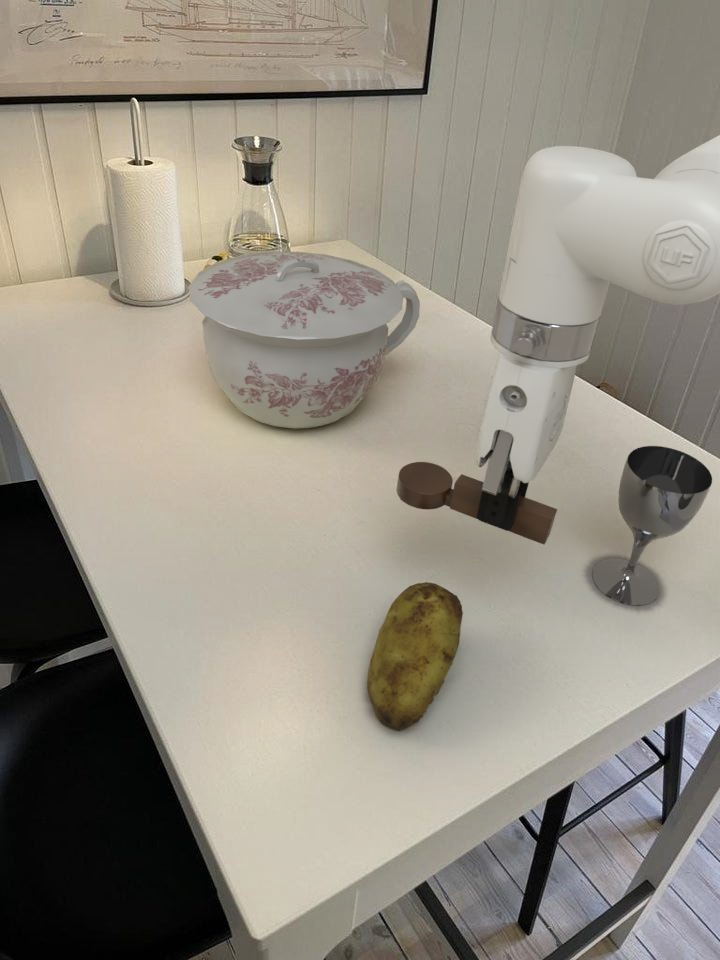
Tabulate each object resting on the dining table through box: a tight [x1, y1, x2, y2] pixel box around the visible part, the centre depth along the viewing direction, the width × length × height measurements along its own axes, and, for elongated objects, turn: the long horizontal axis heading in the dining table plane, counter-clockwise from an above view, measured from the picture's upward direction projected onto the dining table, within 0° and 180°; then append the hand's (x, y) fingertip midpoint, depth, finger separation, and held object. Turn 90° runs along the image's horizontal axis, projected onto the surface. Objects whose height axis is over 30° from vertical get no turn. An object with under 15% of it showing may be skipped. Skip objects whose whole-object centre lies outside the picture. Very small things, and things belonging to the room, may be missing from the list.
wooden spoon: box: [396, 461, 558, 545], centre depth 68 cm, size 14×5×3 cm, turn 62°
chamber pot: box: [188, 251, 421, 430], centre depth 100 cm, size 28×28×21 cm
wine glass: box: [591, 445, 713, 606], centre depth 77 cm, size 8×8×15 cm
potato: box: [366, 581, 464, 732], centre depth 66 cm, size 8×13×8 cm, turn 142°
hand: (498, 515), depth 67 cm, fingers closed on wooden spoon, 1 cm apart
